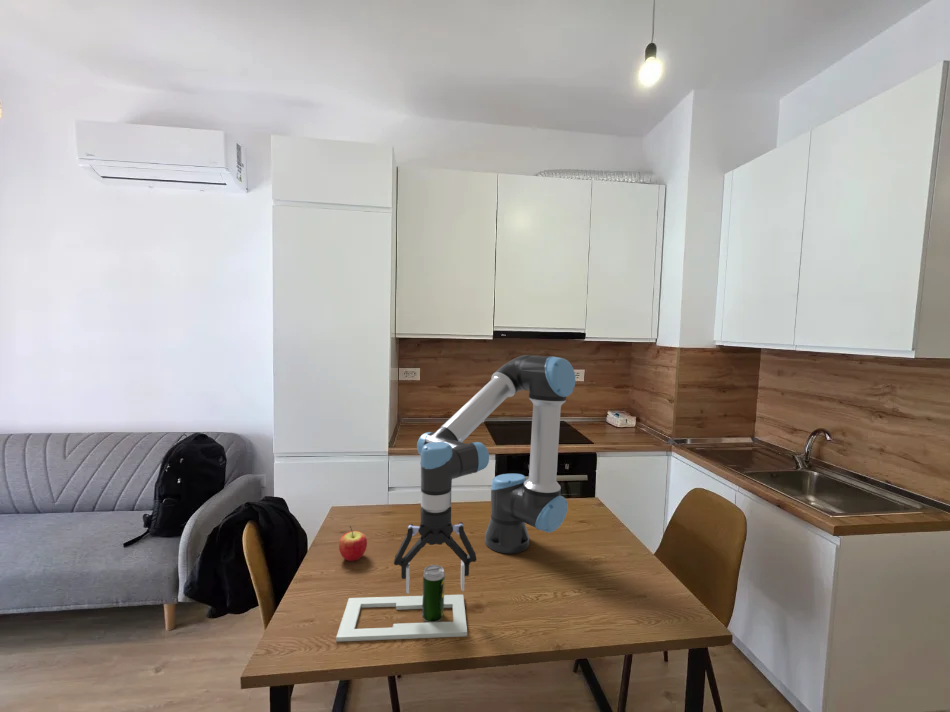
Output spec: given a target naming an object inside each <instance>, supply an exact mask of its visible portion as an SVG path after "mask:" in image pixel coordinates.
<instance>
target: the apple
mask: <svg viewBox="0 0 950 712" xmlns="http://www.w3.org/2000/svg"><path fill="white" fill-rule="evenodd" d="M349 528H350V530H351V531H348V532H346V533H344V534H343V535H342V536H341V537H340V539H339V542H338V548H339V549H338V550H339V553H340V555H341V557H342V558H343V559H344V560H346V561H348V562H354V561H358V560H360V559H361V558H363V556H364V554H365V552H366V551H367V547H368V538H367V536H366V535H365V534H364V533H363V532H361V531H358V530H353V529H352V526H351V525H349Z"/></svg>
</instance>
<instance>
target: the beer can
mask: <svg viewBox="0 0 950 712" xmlns="http://www.w3.org/2000/svg"><path fill="white" fill-rule="evenodd" d="M423 571H424V572H423V573H422V574H423V575H422V596H423V603H422V609H421V616H422V618H423V620H424V621H425V623H427V622H442V619H443V617H444V615H445V614H444V613H445V612H444V611H445V610H444V609H445V608H444V595H445V580H446V579H445V578H446V577H445V575H446V572H445V568H443V567H442V566H441V565H439V564H438V565H437V564H431V565H427V566H426V567H425V568H424V570H423Z"/></svg>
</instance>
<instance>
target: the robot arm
mask: <svg viewBox="0 0 950 712" xmlns="http://www.w3.org/2000/svg"><path fill="white" fill-rule="evenodd" d="M575 386H576V372H575V370H574V368H573V366H572V364H571V362H570V361H569V360H567V359H566V358H563V357H557V356H554V355H553V356H548V355H547V356H545V355H533V354H524V355H519V356H518V357H515V358H513V359H511V360H509V361H508V362H506V363H504V364H503V365H502V366H500V368H499V367H498V369H497V370H496V371H495V372H494V373H493V374H491V379H490V380H489V382H488V383H486V384H484V386H483V387H482V388H481V389H480V390H479V391H478V392H477V393H475V394H474V395H473V397H471V398H470V399H469V400H468V401H467V402H466V403H465V404H464V405H463V406H461V408H460V409H459V410H457V411H456V412H455V413H454V414H453V415H452V416H451V417H450V418H448V420H446V422H445V423H443V424H442V425H441V426H440V427H439V428H438V429H437V430H436V431H434V432H433V431H428V432H427V431H426V432H425V433H422V434H421V435H420V437H419V438H418V441H417V442H416V443H417V444H416V449H417V453H418V454H419V455H420V463H419V464H420V506H421V507H420V525H419V526H417V525H414V524H413V523H408V526H407V532H406V535H405V536H404V538H403V540H402V542H401V544H400V547H399V548H398V550H397V552H396V554H395V556H394V560H393V561H394V562H393V564H394V565H395V566H400V569H401V570H400V571H401V579H402V580H405V594H410V587H411V583H410V582H411V576H410V575H411V561H412V560H413V559H414V557H416V555H418V553H419V552H420V551H421V550H422V549H423V548H424V547H425V546H426V545H427V544H428V546H429V545H430V546H433V545H443V544H444V543H445V545H446V546H447V547H449V548H450V549H451V551H452V552H453V553H454V554H455V555H456V556H457V557H458V558H459V559H460V588H461V590H460V591H461V592H464V591H465V581H466V580H465V577H468V576H469V575H470V564H471V563H476V562H477V561H478V560H477V554H476V551H475V550H474V548H473V546H472V544H471V542H470V539H469V538H468V536H467V534H466V532H465V530H464V523H463V522H462V521H459V522H458V524H452V487H453V486H452V483H453V480H454V479H457V478H461V477H464V476H467V475H472V474H476V473H478V472H480V471H483V470H484V469H486V468H487V467H488V465H489V463H490V453H489V450H488V448H487V447H486V445H485V444H484V443H482V442H480V441H475V442H473V441H472V442H470V443H464V441H465V440H466V439H467V438H468V437H469V436H470V435H471V434H472V433H474V431H475V430H476V429H477V428H478V427H479V426H480V425H481V424H482V423H483V422H484V421H485V420H486V419H487V418H488V417H489V416H490V415H491V414H492V413H493V412H494V411H495V410H496V409H497V408H498V407H499V406H500V405H501V404H502V403H504V401H505V400H506V399H507V398H511V397H514V396H515V394H517V392H518V393H519V392H520V391H521V392H522V391H528V400H530V401H531V402H532V417H531V418H532V420H531V435H530V436H531V437H530V438H531V439H530V452H529V455H530V456H529V470H528V471H529V473H528V478H527V477H526V475H524V474H522V473H502V474H499V475H496V476H494V477H493V479H492V482H491V488H490V518H489V519H490V520H489V522H488V526H487V528H486V531H485V534H484V543H485V545H486V546H487V547H488V548H489V549H490V550H492V551H495V552H498V553H501V554H502V553H503V554H510V555H511V554H518V553H522V552H524V551H526V550H527V549H528V548H529V546H530V536H529V532H528V529H527V525H529V526H531V527H533V528H535V529H537V530H538V531H542V532H545V533H553V532H555V531H557V530H558V529H559V528H560V527H561V525H562V523H563V522H564V520H565V519H566V517H567V513H568V508H569V505H568V500H567V499H566V498H565V497H564V496H563V495H561V494H562V493H561V492H562V491H561V489H562V487H561V485H560V484H559V482H558V481H557V472H558V461H559V460H558V458H559V457H558V455H559V443H560V441H559V440H560V428H561V427H560V426H561V425H560V423H561V412H562V411H561V410H562V409H561V408H562V405H563V404H564V403H566V402H567V397H568V396H570V395H572V393H573V392H574V389H575ZM526 524H527V525H526ZM453 532H455V534H456V535H459V538H460V540H461V542H462V544H463V547H464V548H465V550H466V552H465V550H463V548H462V547H461V546H460V545H459V544H458V543H457V542H456V540H455V539H453V536H452V535H451V534H452V533H453ZM417 533H419V535H420V537H419V539H418V540H417V541H416V542H415V543H414V545H413V546H412V547H411V548H410V549H409V550H408V551H407V548H408V547H409V545H410V543H411V541H412V538H413V537H414V536H416V535H417ZM406 551H407V553H406V554H405V552H406ZM404 554H405V555H404Z"/></svg>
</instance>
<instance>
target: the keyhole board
mask: <svg viewBox="0 0 950 712" xmlns="http://www.w3.org/2000/svg"><path fill="white" fill-rule="evenodd" d="M464 597H465V596H464V594H444V609H451V608H452V619H453V620H452V621H439V622H404V623H403V622H402V623H401V622H400V623H393V624H392V627H374V628H373V627H371V628H370V627H368V628H367V627H366V628H356V627H357V624H358V619H359V615H360V612H361V609H362V608H364V609H365V608H391V607H395V610H398V611H399V610H422V603H423V595H409V596H408V595H407V596H406V595H404V596H403V595H401V596H400V595H399V596H378V597H376V596H375V597H374V596H372V597H371V596H370V597H349V598H348V599H347V603H346V607H345V610H344V612H343V615H342V618H341V620H340V621H341V622H340V624H339V628H338V631H337V634H336V636H335V639H336V642H358V641H360V642H361V641H362V642H363V641H382V640H383V641H384V640H405V639H406V640H408V639H410V640H411V639H430V638H431V639H432V638H433V639H434V638H435V639H437V638H454V637H455V638H456V637H459V638H460V637H468V627H467V620H466V619H467V618H466V617H467V616H466V609H465V599H464Z"/></svg>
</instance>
